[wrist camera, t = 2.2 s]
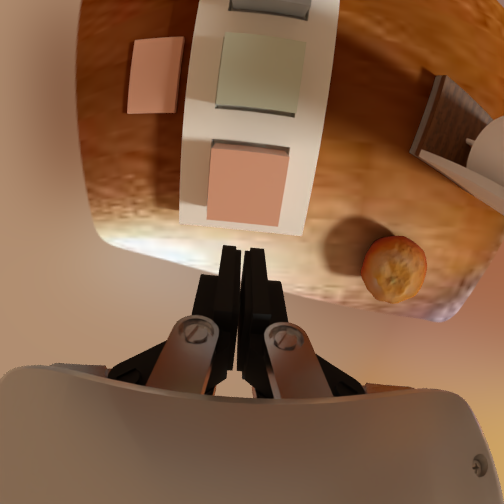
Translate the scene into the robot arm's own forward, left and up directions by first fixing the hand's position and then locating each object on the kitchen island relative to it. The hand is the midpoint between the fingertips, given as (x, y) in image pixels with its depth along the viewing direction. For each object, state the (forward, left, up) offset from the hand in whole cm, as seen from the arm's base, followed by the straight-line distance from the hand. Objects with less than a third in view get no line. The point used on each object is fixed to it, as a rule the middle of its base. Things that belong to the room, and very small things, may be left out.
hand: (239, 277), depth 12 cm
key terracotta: (0, 0, -15) cm, 15 cm away
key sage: (-10, 0, -15) cm, 18 cm away
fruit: (+7, +18, -18) cm, 27 cm away
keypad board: (-10, 0, -18) cm, 20 cm away
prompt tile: (-10, -10, -18) cm, 22 cm away
